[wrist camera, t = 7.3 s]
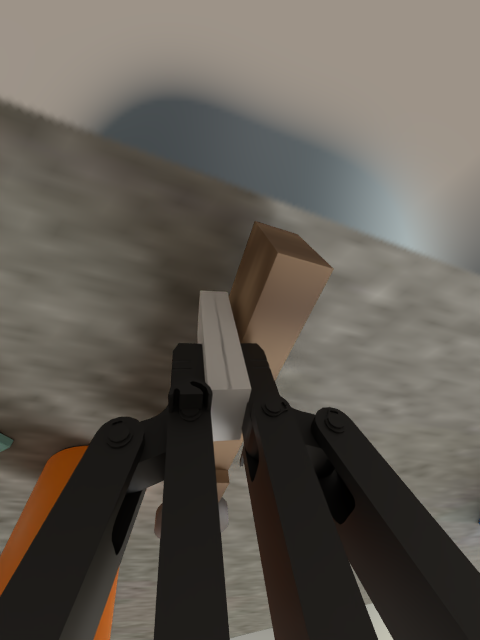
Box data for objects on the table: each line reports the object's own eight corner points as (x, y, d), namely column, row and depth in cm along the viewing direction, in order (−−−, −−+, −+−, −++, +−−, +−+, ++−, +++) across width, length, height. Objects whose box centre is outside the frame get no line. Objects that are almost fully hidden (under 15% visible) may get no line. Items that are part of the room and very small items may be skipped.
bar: (212, 464, 25) (217, 541, 20) (157, 461, 24) (148, 544, 19) (317, 240, 15) (376, 291, 10) (231, 213, 14) (254, 257, 9)
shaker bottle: (45, 428, 22) (-406, 1342, 5) (156, 448, 25) (92, 1045, 9) (24, 487, 26) (-279, 1133, 9) (124, 498, 29) (36, 982, 12)
